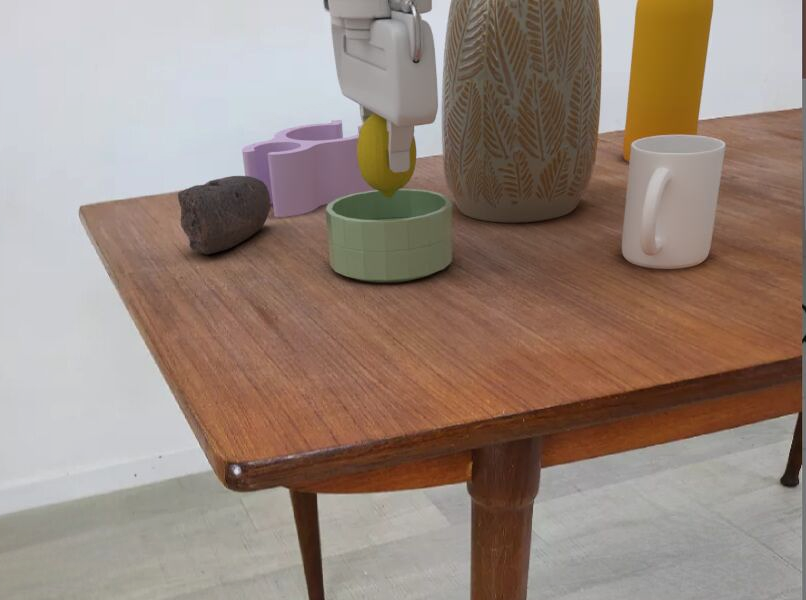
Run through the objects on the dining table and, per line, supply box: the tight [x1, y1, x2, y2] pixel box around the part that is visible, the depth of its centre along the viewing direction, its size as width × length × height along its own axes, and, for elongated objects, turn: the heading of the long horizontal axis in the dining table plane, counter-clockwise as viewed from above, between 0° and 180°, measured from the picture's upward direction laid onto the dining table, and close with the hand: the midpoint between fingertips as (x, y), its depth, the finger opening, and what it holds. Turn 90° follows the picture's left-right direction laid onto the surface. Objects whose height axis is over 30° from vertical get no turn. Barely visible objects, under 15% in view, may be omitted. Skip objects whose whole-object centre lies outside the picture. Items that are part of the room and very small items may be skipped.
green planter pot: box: [325, 188, 453, 283], centre depth 92 cm, size 12×12×6 cm
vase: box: [441, 0, 603, 224], centre depth 101 cm, size 17×17×27 cm
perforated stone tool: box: [177, 175, 271, 255], centre depth 101 cm, size 15×5×7 cm, turn 151°
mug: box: [621, 134, 726, 270], centre depth 87 cm, size 12×8×10 cm
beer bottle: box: [622, 0, 714, 163], centre depth 117 cm, size 9×9×29 cm
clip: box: [241, 119, 375, 218], centre depth 117 cm, size 20×12×7 cm, turn 145°
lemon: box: [357, 113, 417, 198], centre depth 88 cm, size 6×6×8 cm
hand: (387, 163), depth 88 cm, fingers closed on lemon, 5 cm apart
